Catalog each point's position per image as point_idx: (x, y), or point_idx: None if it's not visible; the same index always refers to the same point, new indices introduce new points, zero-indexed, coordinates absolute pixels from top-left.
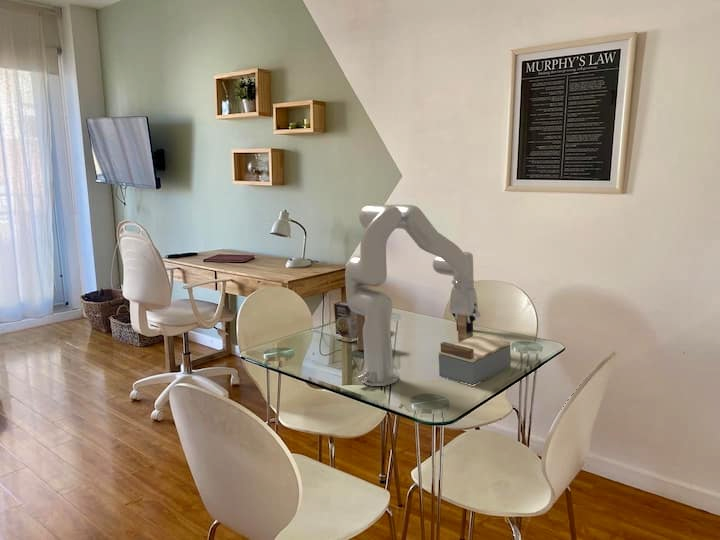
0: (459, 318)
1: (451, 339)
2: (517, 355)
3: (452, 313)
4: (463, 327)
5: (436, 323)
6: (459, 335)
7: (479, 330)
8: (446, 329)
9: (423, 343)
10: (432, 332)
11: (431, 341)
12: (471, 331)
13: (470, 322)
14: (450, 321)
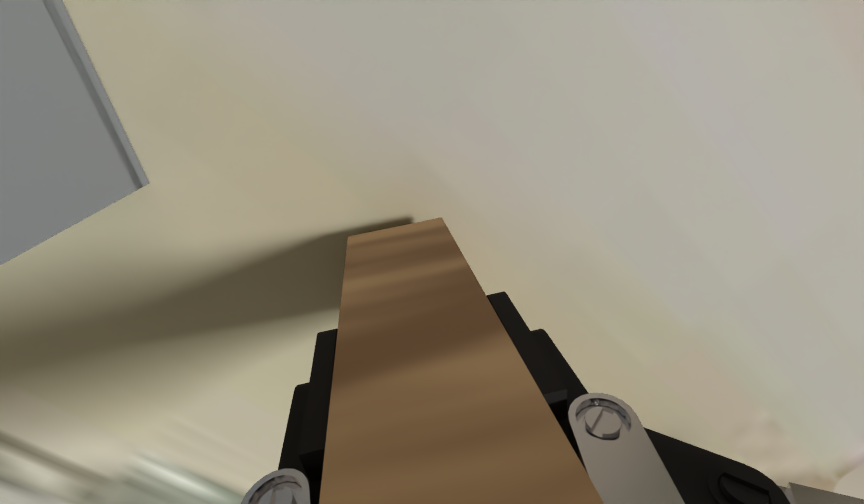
0: (504, 459)
1: (628, 306)
2: (47, 438)
3: (795, 501)
4: (387, 353)
5: (858, 403)
6: (447, 266)
7: None
8: (757, 388)
9: (767, 84)
10: (813, 298)
11: (731, 171)
12: None
13: (255, 501)
14: (798, 467)
